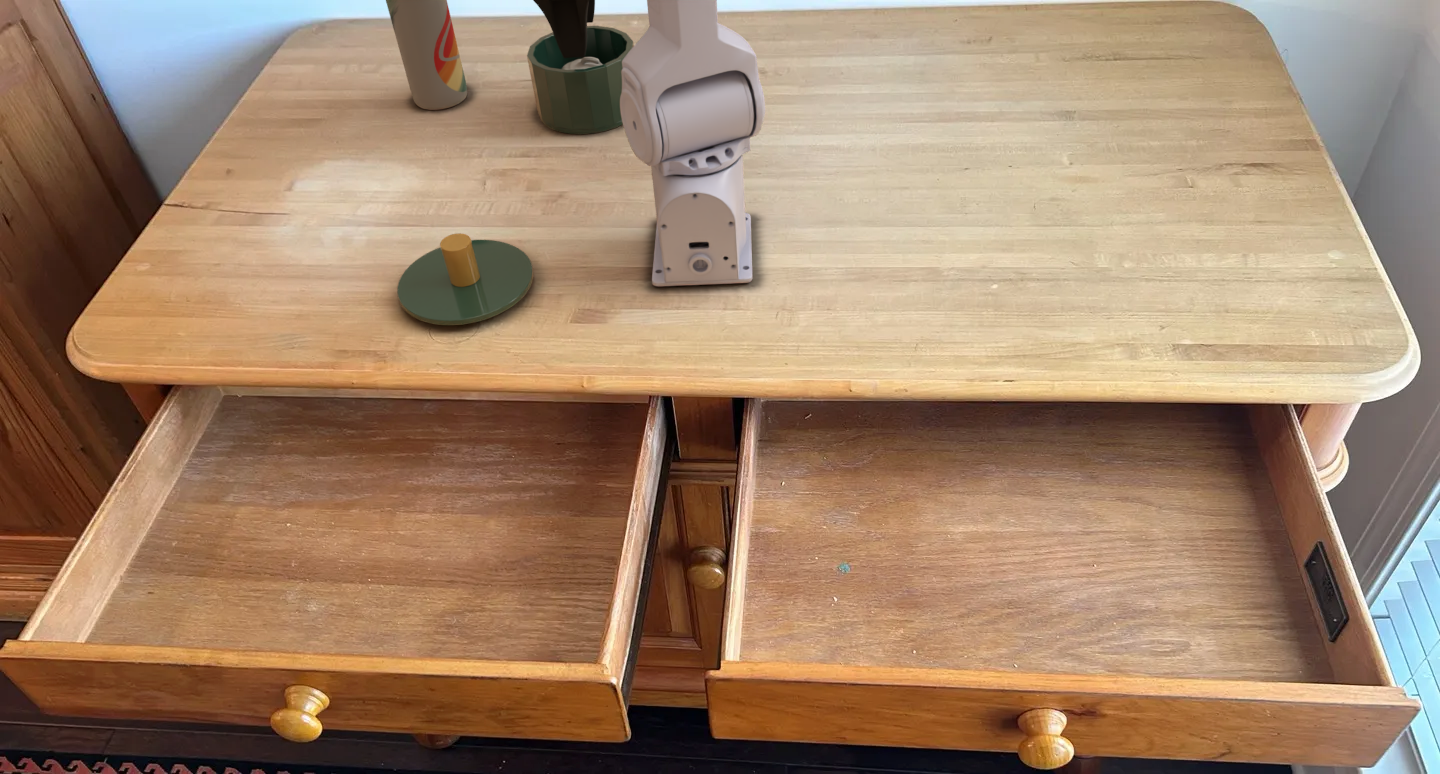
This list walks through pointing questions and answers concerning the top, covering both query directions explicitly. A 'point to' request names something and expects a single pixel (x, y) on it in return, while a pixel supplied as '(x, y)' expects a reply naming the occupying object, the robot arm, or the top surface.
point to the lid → (465, 281)
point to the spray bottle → (429, 52)
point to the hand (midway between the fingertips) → (578, 38)
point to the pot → (580, 82)
